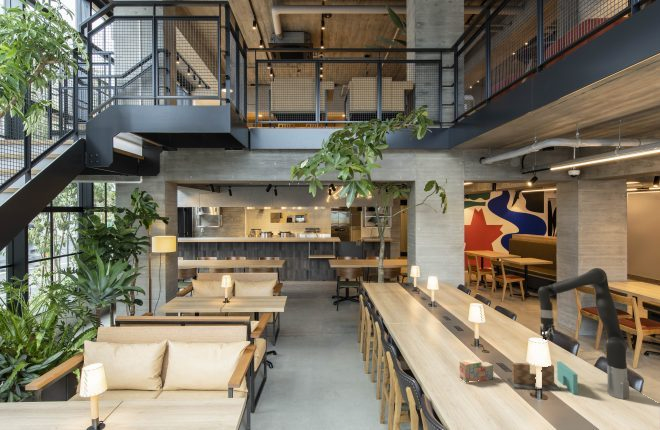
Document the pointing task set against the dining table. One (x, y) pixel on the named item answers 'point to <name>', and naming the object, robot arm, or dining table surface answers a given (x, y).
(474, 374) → the stack of blocks
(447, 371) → the dining table surface
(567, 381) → the teal plate
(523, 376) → the halving stand
